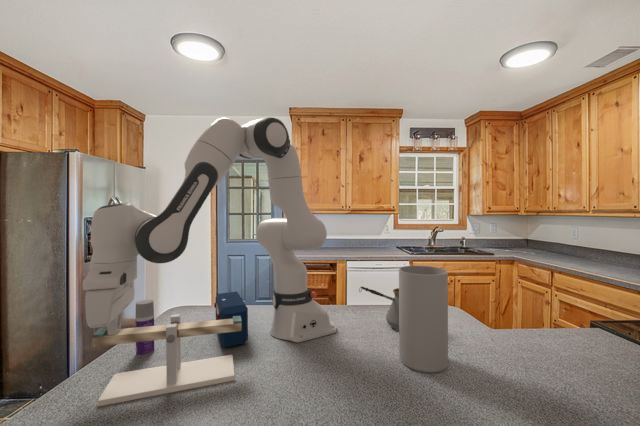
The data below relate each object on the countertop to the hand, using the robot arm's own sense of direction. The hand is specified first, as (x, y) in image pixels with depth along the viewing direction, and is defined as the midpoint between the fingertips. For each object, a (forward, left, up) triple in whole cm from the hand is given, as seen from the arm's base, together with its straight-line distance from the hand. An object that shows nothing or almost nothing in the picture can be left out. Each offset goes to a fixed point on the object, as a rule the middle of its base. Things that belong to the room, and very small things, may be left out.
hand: (114, 332), depth 67 cm
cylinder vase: (-75, +14, -14) cm, 78 cm away
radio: (-26, -22, -14) cm, 37 cm away
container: (-2, -18, -14) cm, 23 cm away
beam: (-12, 0, -3) cm, 13 cm away
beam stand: (-12, 0, -13) cm, 18 cm away
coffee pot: (-79, -9, -14) cm, 81 cm away
